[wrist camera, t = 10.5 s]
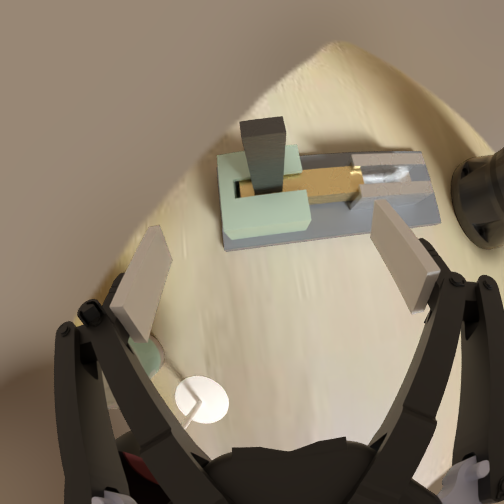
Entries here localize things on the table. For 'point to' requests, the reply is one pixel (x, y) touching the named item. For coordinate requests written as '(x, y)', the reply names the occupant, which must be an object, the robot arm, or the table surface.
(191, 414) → the wineglass
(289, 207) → the socket block
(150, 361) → the coffee cup
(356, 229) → the base board
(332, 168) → the sliding bolt with handle
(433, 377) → the robot arm
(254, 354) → the table surface
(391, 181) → the steel sleeve
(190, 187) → the table surface
